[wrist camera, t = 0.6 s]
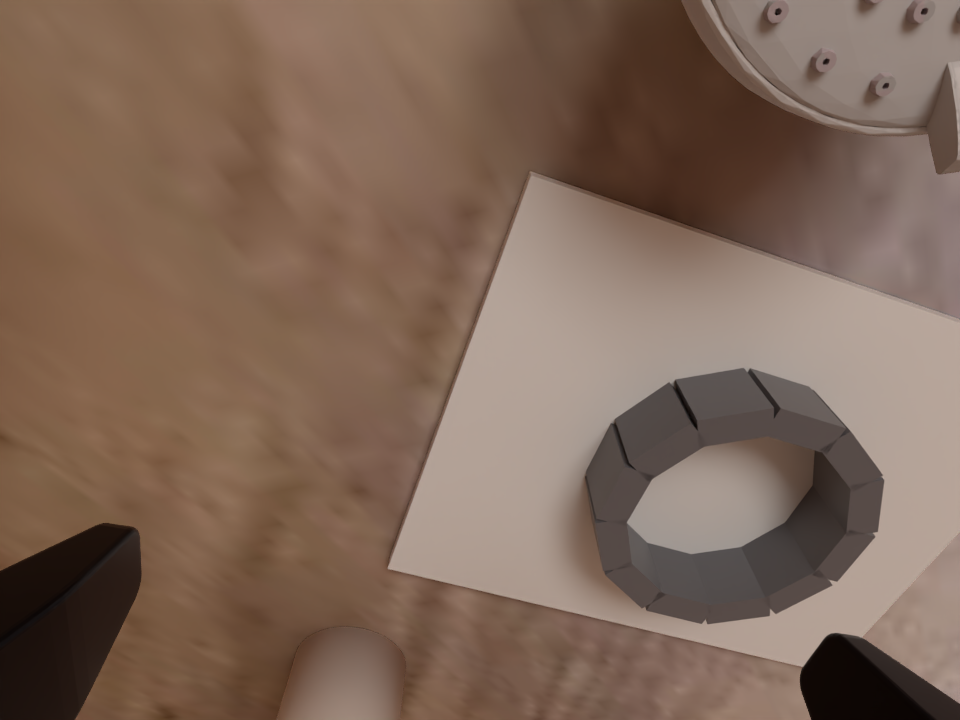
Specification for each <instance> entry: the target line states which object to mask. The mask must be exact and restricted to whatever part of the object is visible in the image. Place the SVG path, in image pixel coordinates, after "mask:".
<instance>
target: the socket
mask: <svg viewBox="0 0 960 720" xmlns="http://www.w3.org/2000/svg"><path fill="white" fill-rule="evenodd" d="M959 532H960V319H958V318H955V317H952V316H949V315H946V314H943V313H940V312H937V311H934V310H932V309H929V308H926V307H923V306H920V305H917V304H914V303H911V302H908V301H905V300H903V299H900V298H897V297H894V296H891V295H888V294H885V293H882V292H879V291H876V290H874V289H871V288H868V287H865V286H862V285H859V284H856V283H853V282H850V281H847V280H845V279H842V278H839V277H836V276H833V275H830V274H827V273H824V272H821V271H819V270H816V269H813V268H810V267H807V266H804V265H801V264H798V263H795V262H792V261H790V260H787V259H784V258H781V257H778V256H775V255H772V254H769V253H766V252H763V251H761V250H758V249H755V248H752V247H749V246H746V245H743V244H740V243H737V242H734V241H732V240H729V239H726V238H723V237H720V236H717V235H714V234H711V233H708V232H706V231H703V230H700V229H697V228H694V227H691V226H688V225H685V224H682V223H679V222H677V221H674V220H671V219H668V218H665V217H662V216H659V215H656V214H653V213H650V212H648V211H645V210H642V209H639V208H636V207H633V206H630V205H627V204H624V203H621V202H619V201H616V200H613V199H610V198H607V197H604V196H601V195H598V194H595V193H593V192H590V191H587V190H584V189H581V188H578V187H575V186H572V185H569V184H566V183H564V182H561V181H558V180H555V179H552V178H549V177H546V176H543V175H540V174H537V173H535V172H532V171H529V174H528V177H527V179H526V182H525V185H524V188H523V190H522V193H521V196H520V199H519V202H518V204H517V207H516V210H515V213H514V215H513V218H512V221H511V224H510V226H509V229H508V232H507V235H506V237H505V240H504V243H503V246H502V248H501V251H500V254H499V257H498V259H497V262H496V265H495V268H494V271H493V273H492V276H491V279H490V282H489V284H488V287H487V290H486V293H485V295H484V298H483V301H482V304H481V306H480V309H479V312H478V315H477V317H476V320H475V323H474V326H473V328H472V331H471V334H470V337H469V340H468V342H467V345H466V348H465V351H464V353H463V356H462V359H461V362H460V364H459V367H458V370H457V373H456V375H455V378H454V381H453V384H452V386H451V389H450V392H449V395H448V397H447V400H446V403H445V406H444V408H443V411H442V414H441V417H440V420H439V422H438V425H437V428H436V431H435V433H434V436H433V439H432V442H431V444H430V447H429V450H428V453H427V455H426V458H425V461H424V464H423V466H422V469H421V472H420V475H419V477H418V480H417V483H416V486H415V489H414V491H413V494H412V497H411V500H410V502H409V505H408V508H407V511H406V513H405V516H404V519H403V522H402V524H401V527H400V530H399V533H398V535H397V538H396V541H395V544H394V546H393V549H392V552H391V555H390V558H389V564H388V569H391V570H395V571H399V572H403V573H408V574H412V575H416V576H420V577H425V578H429V579H433V580H437V581H441V582H446V583H450V584H454V585H458V586H463V587H467V588H471V589H475V590H479V591H484V592H488V593H492V594H496V595H501V596H505V597H509V598H513V599H517V600H522V601H526V602H530V603H534V604H539V605H543V606H547V607H551V608H555V609H560V610H564V611H568V612H572V613H577V614H581V615H585V616H589V617H593V618H598V619H602V620H606V621H610V622H615V623H619V624H623V625H627V626H631V627H636V628H640V629H644V630H648V631H653V632H657V633H661V634H665V635H669V636H674V637H678V638H682V639H686V640H691V641H695V642H699V643H703V644H707V645H712V646H716V647H720V648H724V649H729V650H733V651H737V652H741V653H745V654H750V655H754V656H758V657H762V658H767V659H771V660H775V661H779V662H783V663H788V664H792V665H796V666H800V667H803V666H804V665H805V663H806V662H807V661H808V659H809V658H810V657H811V655H812V654H813V653H814V651H815V650H816V649H817V647H818V646H819V645H820V643H821V642H822V640H823V639H824V638H825V637H826V636H827V635H829V634H831V633H841V634H848V635H854V636H859V637H861V638H862V637H863V636H864V635H865V633H866V632H867V631H868V630H869V629H870V628H871V627H872V626H873V625H874V624H875V623H876V622H877V621H878V619H879V618H880V617H881V616H882V615H883V614H884V613H885V612H886V611H887V610H888V609H889V608H890V607H891V605H892V604H893V603H894V602H895V601H896V600H897V599H898V598H899V597H900V596H901V595H902V594H903V593H904V591H905V590H906V589H907V588H908V587H909V586H910V585H911V584H912V583H913V582H914V581H915V580H916V579H917V577H918V576H919V575H920V574H921V573H922V572H923V571H924V570H925V569H926V568H927V567H928V566H929V565H930V563H931V562H932V561H933V560H934V559H935V558H936V557H937V556H938V555H939V554H940V553H941V552H942V551H943V550H944V548H945V547H946V546H947V545H948V544H949V543H950V542H951V541H952V540H953V539H954V538H955V537H956V536H957V534H958V533H959Z"/></svg>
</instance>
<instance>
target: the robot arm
mask: <svg viewBox="0 0 960 720" xmlns="http://www.w3.org/2000/svg"><path fill="white" fill-rule="evenodd" d="M140 582H141V552H140V536H139V532H138V530H137V529H136V528H134V527H130V526H123V525H116V524H110V523H102V524H99V525H96V526H94V527H92V528H90V529H88V530H85V531H83V532H81V533H79V534H77V535H75V536H73V537H71V538H68V539H66V540H64V541H62V542H60V543H58V544H56V545H54V546H52V547H49V548H47V549H45V550H43V551H41V552H39V553H37V554H35V555H33V556H30V557H28V558H26V559H24V560H22V561H20V562H18V563H16V564H14V565H11V566H9V567H7V568H5V569H3V570H1V571H0V720H75V718H76V717H77V715H78V713H79V712H80V710H81V708H82V706H83V704H84V702H85V700H86V698H87V696H88V694H89V692H90V690H91V688H92V686H93V684H94V682H95V680H96V678H97V676H98V674H99V672H100V670H101V668H102V666H103V664H104V662H105V660H106V658H107V655H108V653H109V651H110V649H111V647H112V645H113V643H114V641H115V639H116V637H117V635H118V633H119V631H120V629H121V627H122V625H123V623H124V621H125V619H126V617H127V615H128V613H129V610H130V608H131V606H132V604H133V602H134V600H135V598H136V596H137V593H138V590H139V586H140ZM800 687H801V691H802V695H803V697H804V700H805V703H806V706H807V709H808V712H809V714H810V717H811V720H960V704H959V703H958V702H956V701H955V700H953V699H952V698H950V697H949V696H947V695H946V694H944V693H943V692H942V691H940V690H939V689H937V688H936V687H934V686H933V685H931V684H930V683H928V682H927V681H925V680H924V679H922V678H921V677H919V676H918V675H917V674H915V673H914V672H912V671H911V670H909V669H908V668H906V667H905V666H903V665H902V664H900V663H899V662H897V661H896V660H894V659H893V658H892V657H890V656H889V655H887V654H886V653H884V652H883V651H881V650H880V649H878V648H877V647H875V646H874V645H872V644H871V643H869V642H868V641H867V640H865V639H863V638H861V637H859V636H854V635H848V634H841V633H831V634H829V635H827V636H826V637H825V638H824V639H823V640H822V642H821V643H820V645H819V646H818V647H817V649H816V650H815V651H814V653H813V654H812V655H811V657H810V658H809V659H808V661H807V662H806V663H805V665H804V666H803V668H802V670H801V674H800Z"/></svg>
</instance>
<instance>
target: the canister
mask: <svg viewBox="0 0 960 720" xmlns="http://www.w3.org/2000/svg"><path fill="white" fill-rule="evenodd" d="M405 672H406V661H405V658H404V655H403V653H402V652H401V650H400V649H399V648H398V647H397V646H396V645H395V644H394V643H393V642H392V641H391V640H389V639H388V638H386V637H385V636H383V635H381V634H378V633H376V632H373V631H370V630H367V629H363V628H357V627H333V628H328V629H324V630H321V631H318V632H316V633H314V634H312V635H310V636H309V637H307V638H306V639H305V640H304V641H303V642H302V643H301V644H300V645H299V647H298V649H297V651H296V654H295V657H294V661H293V664H292V668H291V671H290V674H289V678H288V681H287V685H286V688H285V691H284V695H283V698H282V702H281V705H280V708H279V712H278V715H277V719H276V720H400V715H401V707H402V698H403V690H404V681H405Z"/></svg>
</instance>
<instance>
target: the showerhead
mask: <svg viewBox="0 0 960 720" xmlns="http://www.w3.org/2000/svg"><path fill="white" fill-rule="evenodd" d="M681 1H682V4H683V6H684V8H685V10H686V13H687V15H688V17H689V19H690V21H691V23H692V24H693V26H694V28H695V30H696V31H697V33H698V35H699V36H700V38H701V40H702V41H703V42H704V44H705V45H706V47H707V48H708V49H709V51H710V52H711V53H712V55H713V56H714V57H715V59H716V60H717V61H718V62H719V63H720V64H721V65H722V66H723V67H724V68H725V69H726V70H727V71H728V73H729V74H730V75H732V76H733V77H734V78H735V79H736V80H737V81H739V82H740V83H741V84H742V85H743V86H744V87H746V88H747V89H748V90H750V91H752V92H753V93H755V94H757V95H758V96H760V97H762V98H763V99H765V100H767V101H768V102H770V103H772V104H774V105H776V106H778V107H780V108H781V109H783V110H785V111H788V112H790V113H793V114H795V115H798V116H800V117H803V118H805V119H808V120H810V121H813V122H816V123H819V124H822V125H824V126H827V127H830V128H833V129H838V130H842V131H846V132H851V133H855V134H864V135H873V136H913V135H923V134H928V136H929V142H930V147H931V152H932V156H933V161H934V165H935V169H936V173H937V174H946V173H954V172H959V171H960V0H681Z"/></svg>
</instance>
